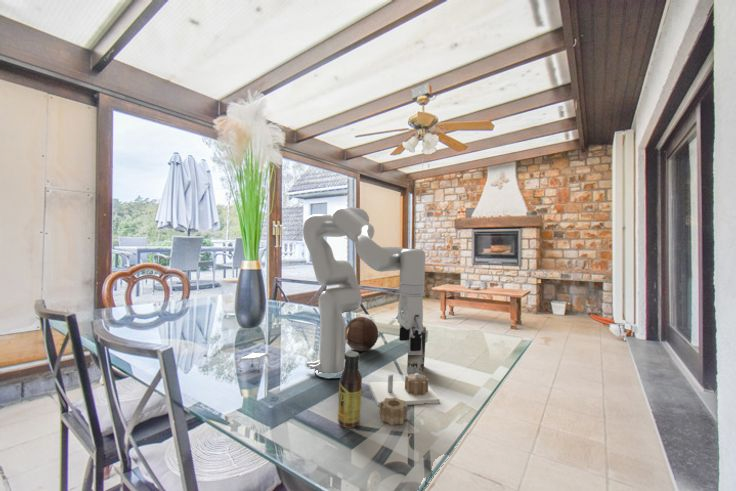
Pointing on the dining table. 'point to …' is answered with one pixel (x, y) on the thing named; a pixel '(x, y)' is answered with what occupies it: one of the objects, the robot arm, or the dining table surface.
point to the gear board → (404, 390)
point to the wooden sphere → (361, 333)
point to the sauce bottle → (350, 392)
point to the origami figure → (254, 356)
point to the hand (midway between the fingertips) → (409, 345)
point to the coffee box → (416, 356)
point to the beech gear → (393, 411)
